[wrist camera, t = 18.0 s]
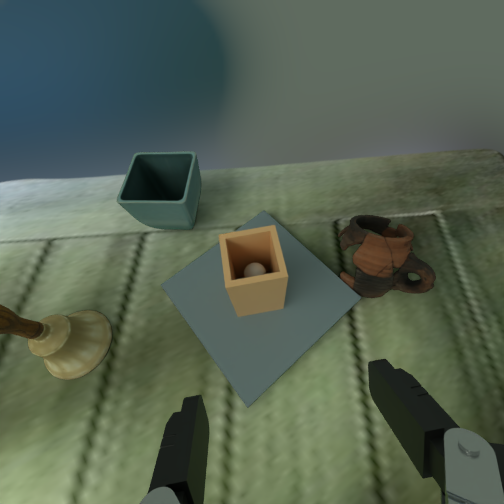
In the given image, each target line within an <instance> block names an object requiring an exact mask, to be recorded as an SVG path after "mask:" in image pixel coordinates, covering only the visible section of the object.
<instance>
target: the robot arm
mask: <svg viewBox="0 0 504 504" xmlns="http://www.w3.org/2000/svg"><path fill="white" fill-rule="evenodd" d="M368 372H369V389H370V393H371V396H372V399H373V401H374V402H375V404H376V406H377V407H378V409H379V410H380V412H381V413H382V415H383V417H384V418H385V420H386V421H387V423H388V424H389V426H390V428H391V429H392V431H393V432H394V434H395V435H396V437H397V439H398V440H399V442H400V443H401V445H402V447H403V448H404V450H405V451H406V453H407V454H408V456H409V458H410V459H411V461H412V462H413V464H414V465H415V467H416V469H417V470H418V472H419V473H420V475H421V476H422V478H428V477H434V479H435V480H436V482H437V483H438V485H439V486H440V488H441V504H504V445H502V444H494V443H488V442H487V441H486V440H484V439H483V438H482V437H480V436H479V435H477V434H476V433H474V432H472V431H469V430H466V429H462V428H460V427H459V426H458V425H457V424H456V423H455V422H454V421H453V420H452V418H451V417H450V416H449V415H448V414H447V413H446V412H445V411H444V410H443V409H442V408H441V406H440V405H439V404H438V403H437V402H436V401H435V400H434V399H433V398H432V397H431V395H429V394H428V392H427V391H426V390H425V389H424V388H423V387H422V386H421V384H420V383H419V382H418V381H417V380H416V379H415V378H414V377H413V376H412V375H411V374H409V373H407V372H406V371H404V370H403V369H401V368H399V369H394V367H393V366H392V365H391V364H390V363H389V362H388V361H387V360H386V359H381V360H375V361H370V362H369V363H368ZM208 443H209V422H208V417H207V414H206V410H205V406H204V403H203V399H202V396H201V395H196V396H191V397H186V398H184V400H183V405H182V409H181V412H175V413H173V414H172V416H171V417H170V419H169V421H168V422H167V424H166V427H165V431H164V434H163V439H162V442H161V446H160V450H159V453H158V457H157V461H156V465H155V469H154V472H153V476H152V480H151V484H150V488H149V491H148V493H147V495H146V496H145V497H144V498H143V500H142V501H141V502H140V504H203V502H204V490H205V479H206V467H207V455H208Z"/></svg>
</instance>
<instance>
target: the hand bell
mask: <svg viewBox="0 0 504 504" xmlns="http://www.w3.org/2000/svg"><path fill="white" fill-rule="evenodd" d="M0 334H14V335H18V336H21V337H25V338H28V347H29V349H30V351H31V352H32V353H33V354H35V355H37V356H40V357H42V358H44V363H45V366H46V368H47V369H48V371H49V372H50V373H51V374H52V375H53V376H55V377H57V378H60V379H66V380H69V379H75V378H79V377H81V376H83V375H86V374H87V373H89V372H90V371H92V370H93V369H94V368H95V367H96V366H97V365H98V364H99V363H100V362H101V361H102V360H103V358H104V357H105V355H106V354H107V352H108V349H109V347H110V344H111V339H112V329H111V325H110V322H109V321H108V319H107V318H106V317H105V316H104V315H103V314H102V313H100V312H97V311H93V310H85V311H79V312H76V313H73V314H71V315H69V316H64V315H51V316H48V317H46V318H44V319H42V320H41V321H39V322H36V321H32V320H28V319H24V318H21V317H19V316H18V315H16V314H15V313H14V312H13V311H11V310H10V309H8V308H6V307H4V306H2V305H0Z"/></svg>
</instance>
